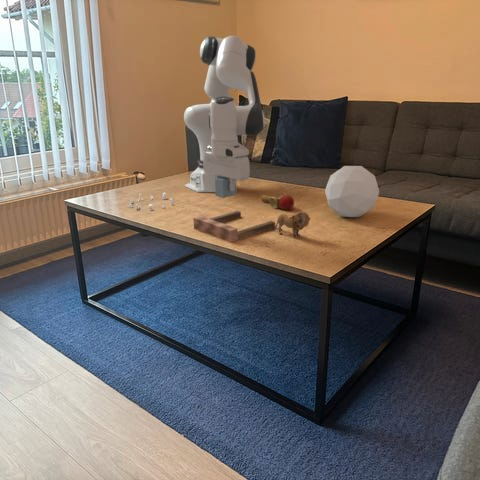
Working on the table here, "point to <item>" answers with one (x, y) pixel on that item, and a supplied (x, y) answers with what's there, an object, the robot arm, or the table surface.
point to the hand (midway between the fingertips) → (226, 189)
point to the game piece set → (150, 204)
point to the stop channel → (228, 227)
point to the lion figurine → (293, 222)
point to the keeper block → (223, 187)
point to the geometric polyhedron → (352, 191)
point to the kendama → (279, 201)
